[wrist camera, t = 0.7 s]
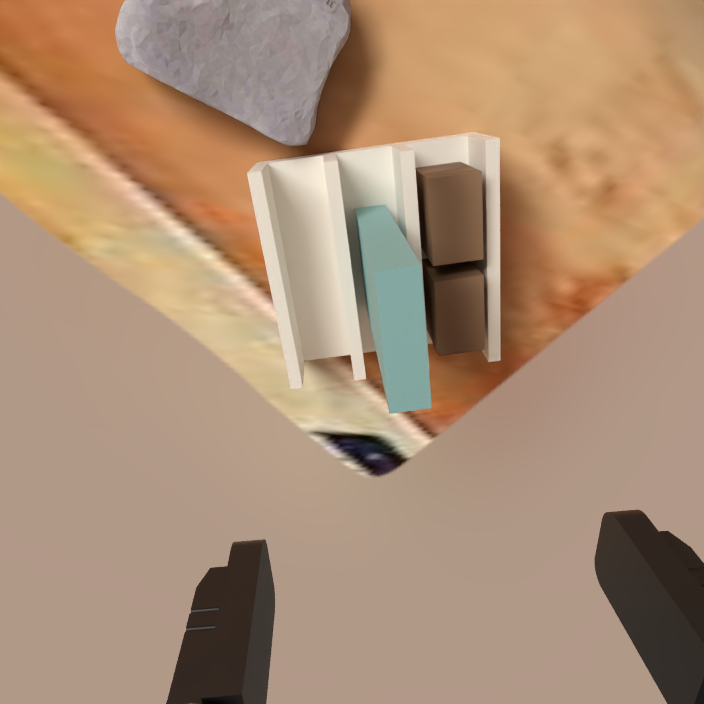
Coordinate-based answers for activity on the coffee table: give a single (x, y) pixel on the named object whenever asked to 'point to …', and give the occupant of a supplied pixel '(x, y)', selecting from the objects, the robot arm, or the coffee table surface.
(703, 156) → the coffee table surface
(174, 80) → the stone block
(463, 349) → the offcut
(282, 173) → the rack
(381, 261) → the sheet
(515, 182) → the coffee table surface
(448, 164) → the offcut
